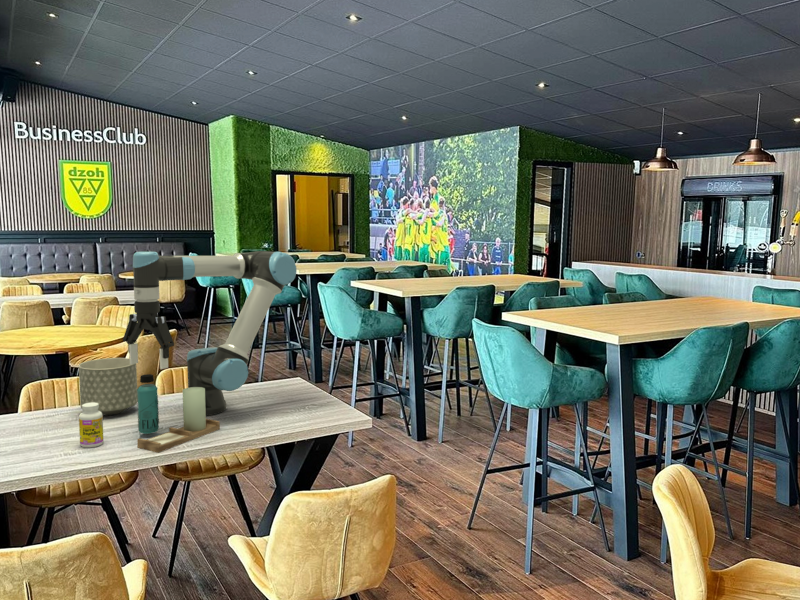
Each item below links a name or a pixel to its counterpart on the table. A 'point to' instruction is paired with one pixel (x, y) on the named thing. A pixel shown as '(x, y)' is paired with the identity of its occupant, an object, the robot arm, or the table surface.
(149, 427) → the beverage bottle
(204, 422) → the sage canister
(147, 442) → the wooden tray
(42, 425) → the table surface
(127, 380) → the planter
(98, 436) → the supplement bottle
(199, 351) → the robot arm
